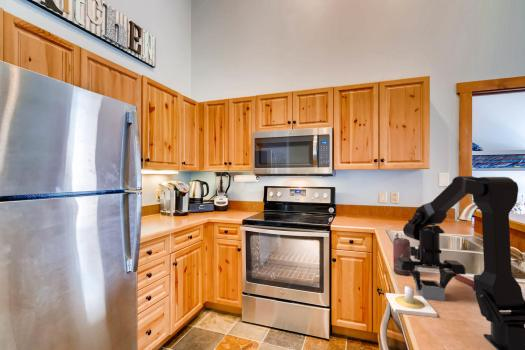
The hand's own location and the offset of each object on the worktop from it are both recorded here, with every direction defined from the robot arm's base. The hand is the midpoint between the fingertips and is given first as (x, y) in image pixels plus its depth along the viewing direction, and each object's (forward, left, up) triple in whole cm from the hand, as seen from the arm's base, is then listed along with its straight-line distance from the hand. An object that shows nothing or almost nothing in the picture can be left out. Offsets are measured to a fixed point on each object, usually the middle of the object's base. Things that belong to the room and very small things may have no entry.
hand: (429, 290), depth 86 cm
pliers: (+12, -19, -2) cm, 23 cm away
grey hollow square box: (0, 0, -2) cm, 2 cm away
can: (+20, +3, -2) cm, 20 cm away
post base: (-9, +9, -2) cm, 13 cm away
